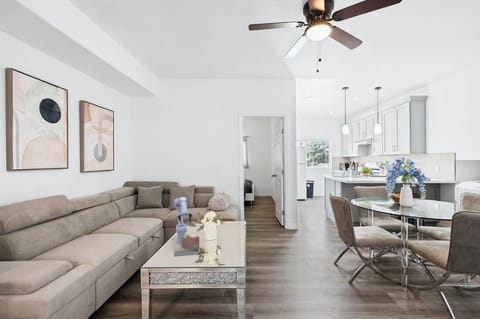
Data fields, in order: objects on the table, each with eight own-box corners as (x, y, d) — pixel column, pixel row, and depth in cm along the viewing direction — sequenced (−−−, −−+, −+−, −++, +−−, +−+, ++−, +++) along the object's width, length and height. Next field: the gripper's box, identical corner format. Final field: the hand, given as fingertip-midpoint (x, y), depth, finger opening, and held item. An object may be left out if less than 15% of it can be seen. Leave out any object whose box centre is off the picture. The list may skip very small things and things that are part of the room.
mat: (174, 251, 232) (174, 250, 232) (206, 248, 238) (206, 248, 238) (174, 256, 218) (174, 256, 218) (207, 253, 224) (207, 253, 224)
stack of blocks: (181, 246, 245) (181, 233, 245) (187, 245, 249) (187, 232, 249) (193, 251, 228) (193, 237, 229) (199, 249, 233) (199, 235, 233)
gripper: (175, 208, 237) (177, 222, 230) (191, 206, 240) (193, 220, 233) (176, 211, 243) (177, 225, 235) (192, 209, 246) (193, 223, 239)
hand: (185, 223), depth 234 cm, fingers open, 7 cm apart
